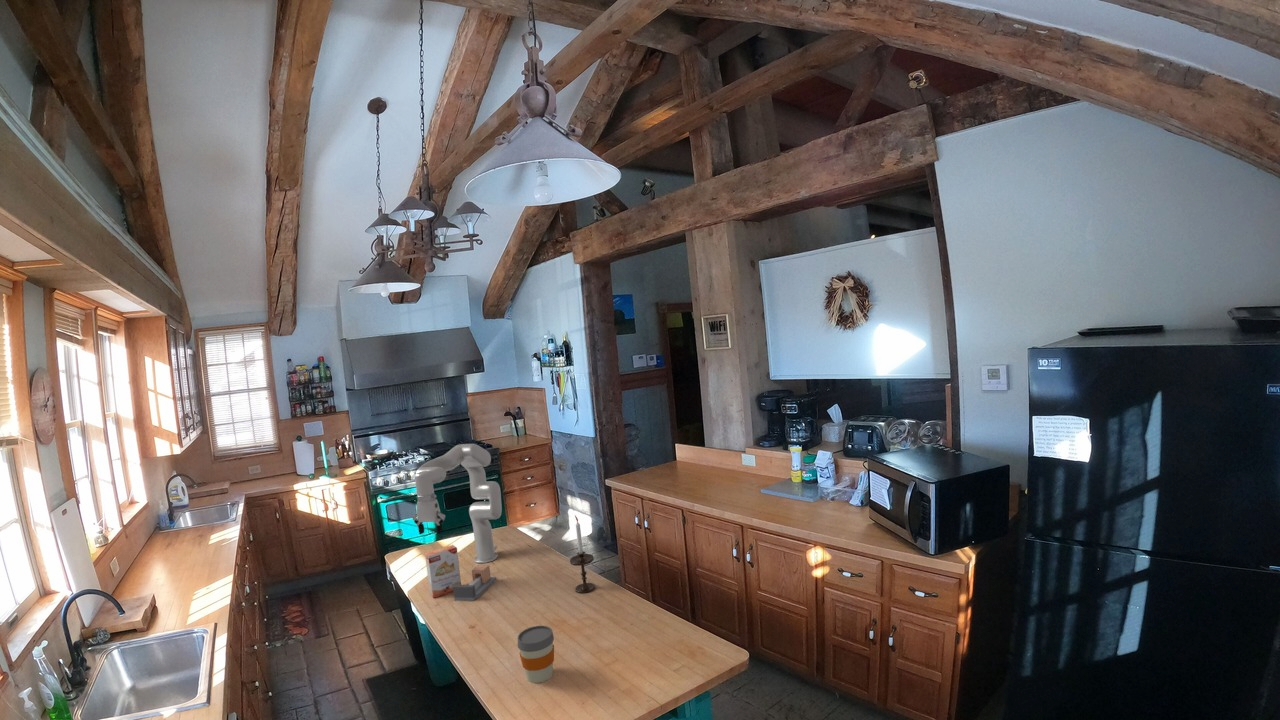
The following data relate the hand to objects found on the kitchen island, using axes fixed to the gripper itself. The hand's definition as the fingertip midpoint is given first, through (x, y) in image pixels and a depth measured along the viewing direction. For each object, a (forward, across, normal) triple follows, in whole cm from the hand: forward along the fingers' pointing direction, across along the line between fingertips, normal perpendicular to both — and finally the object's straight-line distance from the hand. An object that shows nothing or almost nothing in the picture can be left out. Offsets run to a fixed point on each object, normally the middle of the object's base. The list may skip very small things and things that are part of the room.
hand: (430, 533), depth 287 cm
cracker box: (+32, 0, -6) cm, 32 cm away
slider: (+29, -15, -14) cm, 36 cm away
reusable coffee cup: (+31, -77, +57) cm, 101 cm away
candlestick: (+31, -70, -10) cm, 77 cm away
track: (+31, -15, -8) cm, 36 cm away
